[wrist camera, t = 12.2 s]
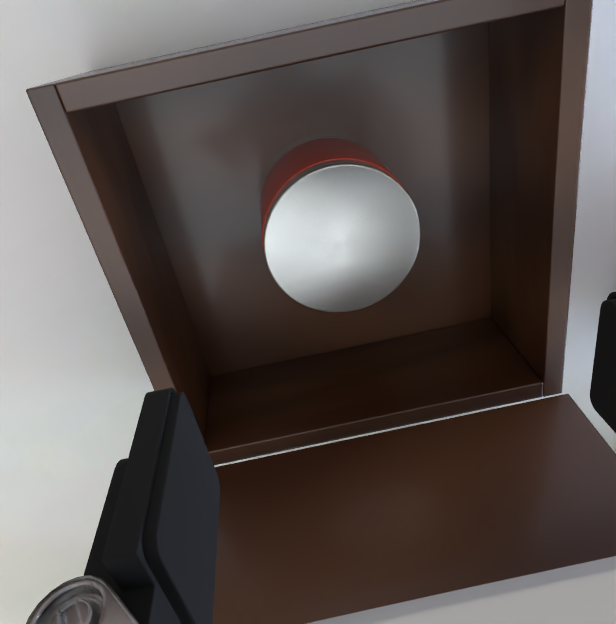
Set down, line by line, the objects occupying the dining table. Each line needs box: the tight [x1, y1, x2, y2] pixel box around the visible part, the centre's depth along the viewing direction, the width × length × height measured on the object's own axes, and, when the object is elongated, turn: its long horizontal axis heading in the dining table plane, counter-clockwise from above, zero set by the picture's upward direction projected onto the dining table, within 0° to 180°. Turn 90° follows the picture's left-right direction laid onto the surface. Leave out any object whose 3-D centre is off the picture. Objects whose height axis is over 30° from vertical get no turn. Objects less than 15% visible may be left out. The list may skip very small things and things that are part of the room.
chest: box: [26, 0, 593, 465], centre depth 23 cm, size 17×18×7 cm
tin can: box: [260, 136, 420, 313], centre depth 22 cm, size 6×6×6 cm
